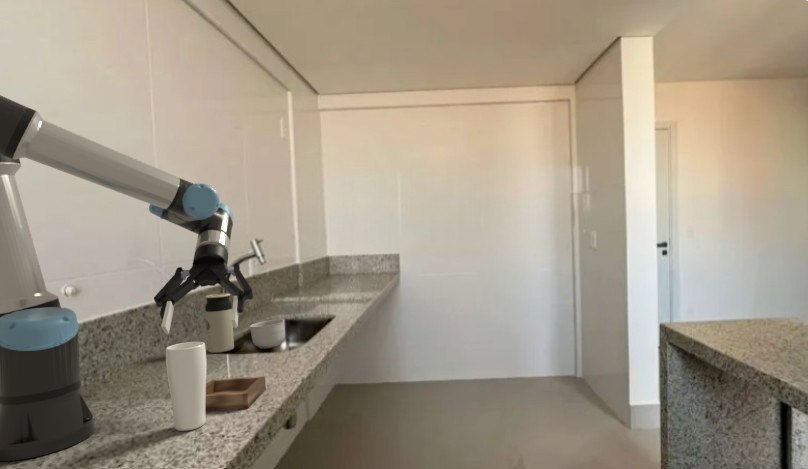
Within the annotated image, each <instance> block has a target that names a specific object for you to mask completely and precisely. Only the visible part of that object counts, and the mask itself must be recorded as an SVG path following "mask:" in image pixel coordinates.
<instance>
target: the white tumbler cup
mask: <svg viewBox="0 0 808 469" xmlns="http://www.w3.org/2000/svg"><path fill="white" fill-rule="evenodd" d="M207 362H208V361H207V350H206V343H205V342H203V341H189V342H181V343H176V344H173V345H169V346H167V347H165V365H166V374H167V381H168V389H169V393H170V402H171V407H172V408H171V409H172V414H173V424H174V425H173V426H174V428H175V430H176V431H180V432H188V431H192V430H193V431H194V430H196V429H199V428H200V427H202V426H204V425H205V424H206V421H207V416H206V415H207V414H206V413H207V411H205V410H206V384H207V367H208V366H207Z"/></svg>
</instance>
